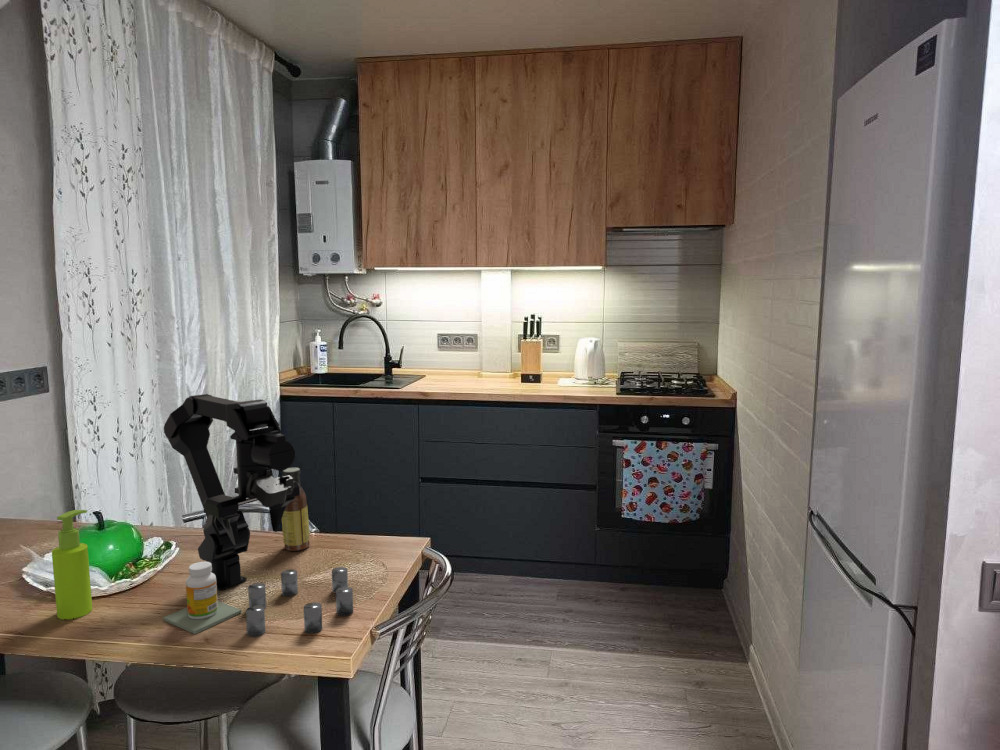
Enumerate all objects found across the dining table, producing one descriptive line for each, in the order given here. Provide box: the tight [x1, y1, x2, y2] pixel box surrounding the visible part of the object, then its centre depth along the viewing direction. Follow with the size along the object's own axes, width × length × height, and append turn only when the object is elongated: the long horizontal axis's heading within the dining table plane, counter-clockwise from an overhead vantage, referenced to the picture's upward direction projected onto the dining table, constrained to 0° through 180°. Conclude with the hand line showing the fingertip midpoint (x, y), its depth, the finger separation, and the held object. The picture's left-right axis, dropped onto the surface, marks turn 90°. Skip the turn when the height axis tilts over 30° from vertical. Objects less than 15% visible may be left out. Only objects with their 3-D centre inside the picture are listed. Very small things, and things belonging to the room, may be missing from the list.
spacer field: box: [245, 566, 354, 638], centre depth 133 cm, size 19×24×4 cm
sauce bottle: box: [281, 467, 311, 552], centre depth 165 cm, size 7×6×20 cm
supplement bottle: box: [185, 561, 219, 619], centre depth 130 cm, size 5×5×10 cm
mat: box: [162, 599, 242, 635], centre depth 131 cm, size 10×10×1 cm
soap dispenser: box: [51, 509, 93, 620], centre depth 132 cm, size 6×7×20 cm
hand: (255, 537), depth 138 cm, fingers open, 9 cm apart
